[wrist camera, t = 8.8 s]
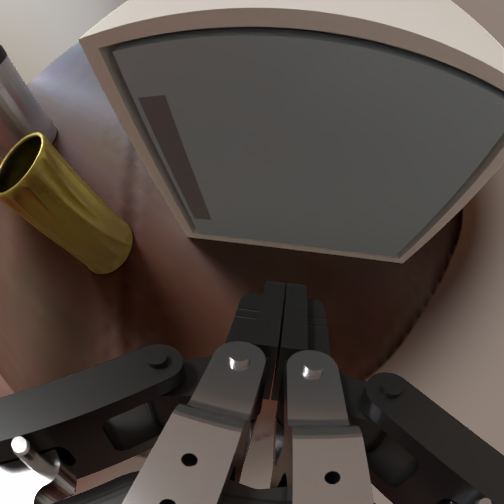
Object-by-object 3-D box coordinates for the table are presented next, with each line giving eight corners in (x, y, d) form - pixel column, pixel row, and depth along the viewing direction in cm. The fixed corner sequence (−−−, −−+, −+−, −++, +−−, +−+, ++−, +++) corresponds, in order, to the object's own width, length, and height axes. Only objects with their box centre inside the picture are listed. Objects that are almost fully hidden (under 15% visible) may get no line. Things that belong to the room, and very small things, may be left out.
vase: (110, 209, 28) (34, 119, 15) (145, 237, 26) (62, 139, 13) (75, 253, 26) (-17, 181, 13) (106, 287, 25) (-2, 218, 11)
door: (394, 257, 23) (520, 109, 6) (198, 233, 25) (112, 52, 8) (394, 248, 23) (512, 97, 7) (201, 224, 25) (121, 43, 9)
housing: (421, 265, 23) (569, 121, 5) (187, 237, 26) (78, 39, 7) (403, 140, 29) (458, 0, 11) (223, 117, 32) (194, -38, 13)
